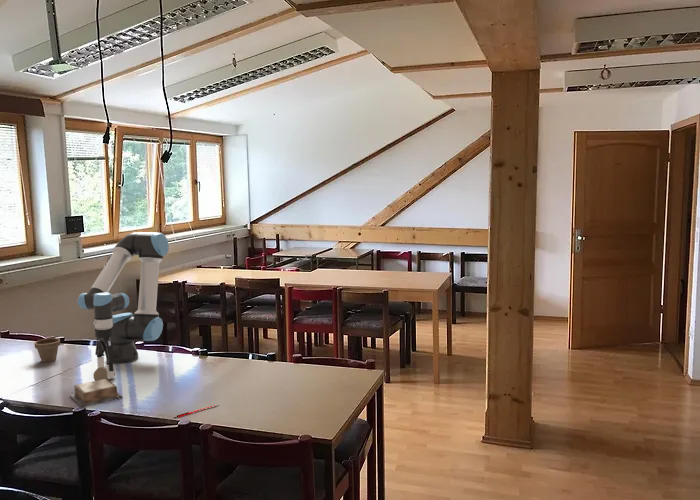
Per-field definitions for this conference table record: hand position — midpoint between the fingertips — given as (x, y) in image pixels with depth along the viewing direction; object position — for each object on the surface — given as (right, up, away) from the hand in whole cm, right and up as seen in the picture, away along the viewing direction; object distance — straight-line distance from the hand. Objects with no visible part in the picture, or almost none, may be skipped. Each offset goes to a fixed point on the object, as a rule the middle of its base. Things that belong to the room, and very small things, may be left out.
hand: (105, 374), depth 265 cm
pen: (+50, -7, -36) cm, 62 cm away
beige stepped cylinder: (-1, -3, +2) cm, 4 cm away
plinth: (+4, -5, -19) cm, 20 cm away
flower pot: (-43, 0, +34) cm, 55 cm away
